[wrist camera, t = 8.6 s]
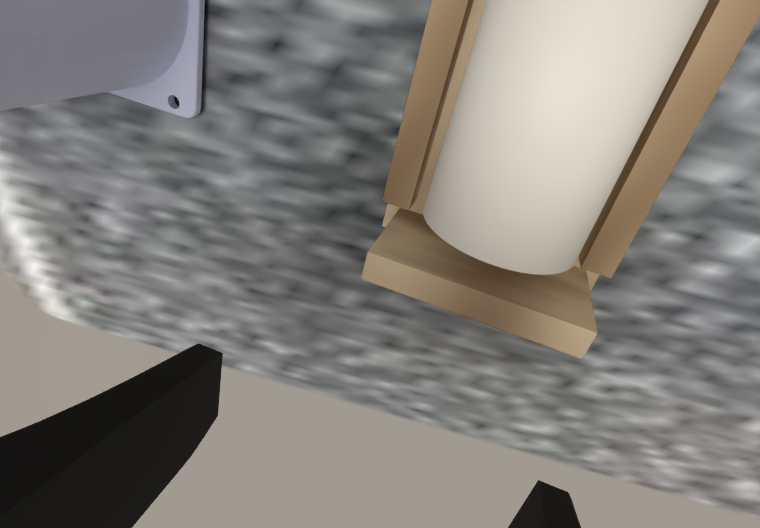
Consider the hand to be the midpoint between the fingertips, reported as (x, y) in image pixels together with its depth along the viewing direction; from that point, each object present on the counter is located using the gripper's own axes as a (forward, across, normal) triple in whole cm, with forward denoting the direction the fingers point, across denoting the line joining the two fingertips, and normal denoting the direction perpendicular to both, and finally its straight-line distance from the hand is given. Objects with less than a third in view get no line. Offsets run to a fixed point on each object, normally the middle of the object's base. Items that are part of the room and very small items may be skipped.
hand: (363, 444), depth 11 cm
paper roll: (+7, -2, -7) cm, 10 cm away
